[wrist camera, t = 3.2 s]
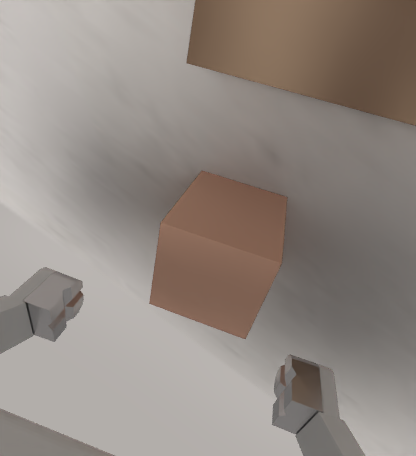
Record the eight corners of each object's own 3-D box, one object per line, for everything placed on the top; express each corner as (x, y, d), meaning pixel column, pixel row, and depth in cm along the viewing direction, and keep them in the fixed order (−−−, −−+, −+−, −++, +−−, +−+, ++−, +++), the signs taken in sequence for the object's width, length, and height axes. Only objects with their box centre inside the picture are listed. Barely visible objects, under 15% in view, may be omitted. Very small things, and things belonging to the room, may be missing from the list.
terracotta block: (287, 197, 16) (281, 263, 11) (259, 262, 19) (245, 339, 14) (202, 170, 16) (160, 222, 11) (187, 238, 19) (149, 303, 14)
